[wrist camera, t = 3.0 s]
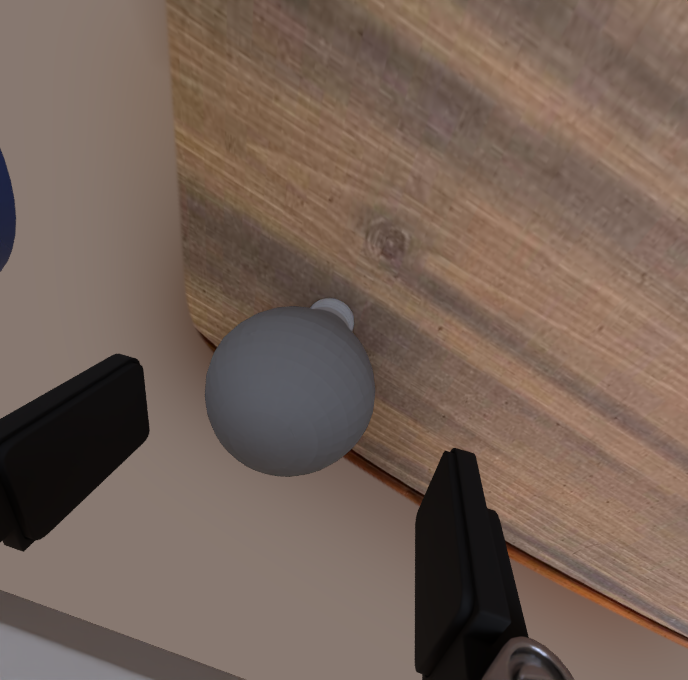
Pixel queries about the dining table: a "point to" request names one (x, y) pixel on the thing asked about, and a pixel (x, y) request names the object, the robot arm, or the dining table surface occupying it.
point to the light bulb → (291, 389)
